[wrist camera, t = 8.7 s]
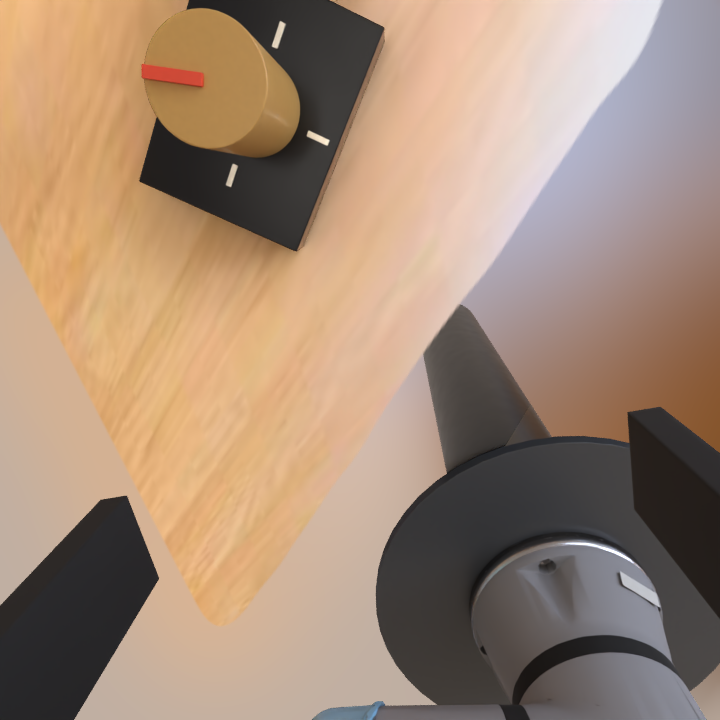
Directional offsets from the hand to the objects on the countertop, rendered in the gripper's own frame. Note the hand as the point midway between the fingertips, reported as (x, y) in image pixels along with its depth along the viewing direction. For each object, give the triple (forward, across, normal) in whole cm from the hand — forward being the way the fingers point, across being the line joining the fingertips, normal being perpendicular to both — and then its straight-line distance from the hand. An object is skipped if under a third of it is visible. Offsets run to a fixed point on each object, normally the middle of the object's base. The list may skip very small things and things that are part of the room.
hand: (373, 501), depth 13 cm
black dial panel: (+26, -5, +14) cm, 30 cm away
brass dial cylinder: (+23, -5, +14) cm, 27 cm away
